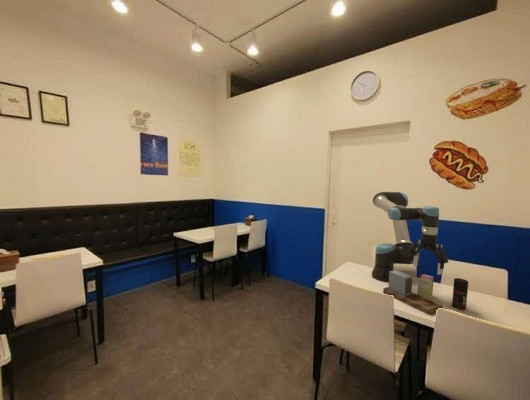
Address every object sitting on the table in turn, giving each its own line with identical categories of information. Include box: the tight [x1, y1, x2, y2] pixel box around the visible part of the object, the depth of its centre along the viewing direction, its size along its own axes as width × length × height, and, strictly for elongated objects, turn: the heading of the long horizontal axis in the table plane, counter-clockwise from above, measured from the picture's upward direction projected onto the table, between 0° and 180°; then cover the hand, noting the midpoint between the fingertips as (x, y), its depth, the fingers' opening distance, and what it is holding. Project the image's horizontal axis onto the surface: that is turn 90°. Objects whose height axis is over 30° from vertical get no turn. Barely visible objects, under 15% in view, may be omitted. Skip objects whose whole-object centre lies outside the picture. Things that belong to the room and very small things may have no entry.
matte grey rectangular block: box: [388, 269, 413, 296], centre depth 144 cm, size 11×6×12 cm, turn 26°
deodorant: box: [451, 277, 469, 311], centre depth 132 cm, size 6×6×15 cm
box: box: [416, 273, 435, 300], centre depth 143 cm, size 10×6×12 cm, turn 134°
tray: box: [382, 286, 444, 316], centre depth 139 cm, size 27×11×3 cm, turn 26°
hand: (426, 270), depth 142 cm, fingers open, 13 cm apart
